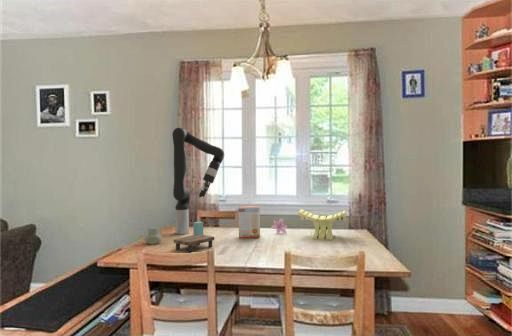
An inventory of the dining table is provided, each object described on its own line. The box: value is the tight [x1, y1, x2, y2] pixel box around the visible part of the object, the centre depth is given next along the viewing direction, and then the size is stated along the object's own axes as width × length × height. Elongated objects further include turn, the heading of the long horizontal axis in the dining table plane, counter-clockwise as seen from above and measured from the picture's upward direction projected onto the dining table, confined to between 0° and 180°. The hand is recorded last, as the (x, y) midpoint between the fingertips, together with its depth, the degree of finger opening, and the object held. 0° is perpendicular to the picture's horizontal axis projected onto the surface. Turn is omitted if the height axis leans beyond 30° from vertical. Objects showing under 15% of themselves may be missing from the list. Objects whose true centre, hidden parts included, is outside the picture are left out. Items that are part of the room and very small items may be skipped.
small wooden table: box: [173, 234, 215, 253], centre depth 244 cm, size 14×20×6 cm
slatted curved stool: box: [297, 208, 347, 241], centre depth 271 cm, size 30×16×18 cm, turn 75°
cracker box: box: [237, 205, 261, 239], centre depth 273 cm, size 14×6×21 cm, turn 84°
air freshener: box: [144, 226, 163, 245], centre depth 258 cm, size 11×8×10 cm
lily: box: [270, 218, 288, 235], centre depth 287 cm, size 12×12×10 cm
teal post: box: [192, 221, 204, 235], centre depth 265 cm, size 4×4×12 cm
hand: (201, 196), depth 279 cm, fingers open, 8 cm apart
